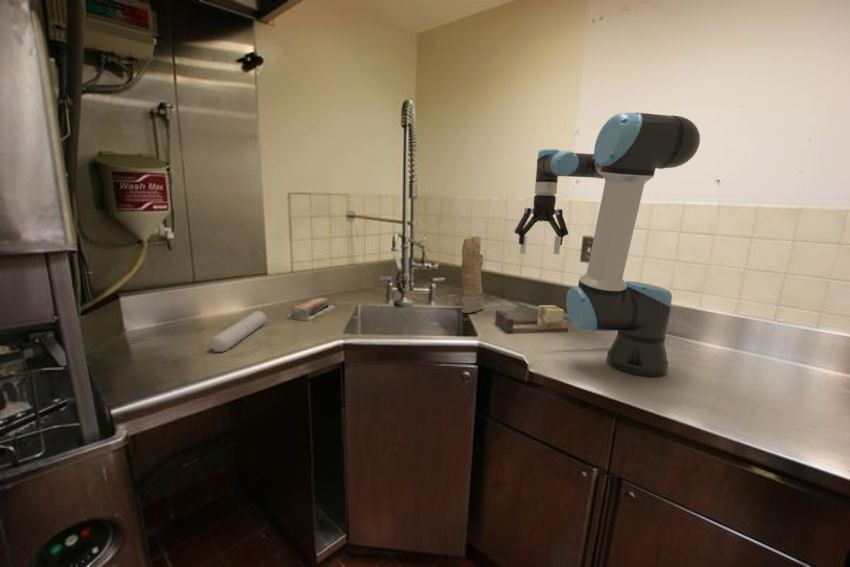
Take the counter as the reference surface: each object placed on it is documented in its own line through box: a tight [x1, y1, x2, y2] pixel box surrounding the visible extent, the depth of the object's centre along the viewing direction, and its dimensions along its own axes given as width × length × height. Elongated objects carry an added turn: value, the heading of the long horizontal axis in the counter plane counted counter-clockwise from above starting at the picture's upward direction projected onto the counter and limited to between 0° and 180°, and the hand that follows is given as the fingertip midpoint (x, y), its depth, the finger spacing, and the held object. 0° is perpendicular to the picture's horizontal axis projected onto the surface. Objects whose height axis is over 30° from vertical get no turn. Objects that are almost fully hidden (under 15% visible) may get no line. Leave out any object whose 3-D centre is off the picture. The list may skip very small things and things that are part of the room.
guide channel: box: [494, 309, 569, 335], centre depth 137 cm, size 12×22×6 cm, turn 101°
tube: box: [210, 310, 267, 353], centre depth 120 cm, size 5×5×25 cm
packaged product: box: [285, 297, 336, 322], centre depth 148 cm, size 18×5×10 cm
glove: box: [461, 235, 485, 314], centre depth 158 cm, size 14×10×30 cm
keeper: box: [536, 304, 565, 327], centre depth 138 cm, size 6×6×7 cm
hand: (539, 253), depth 146 cm, fingers open, 13 cm apart
